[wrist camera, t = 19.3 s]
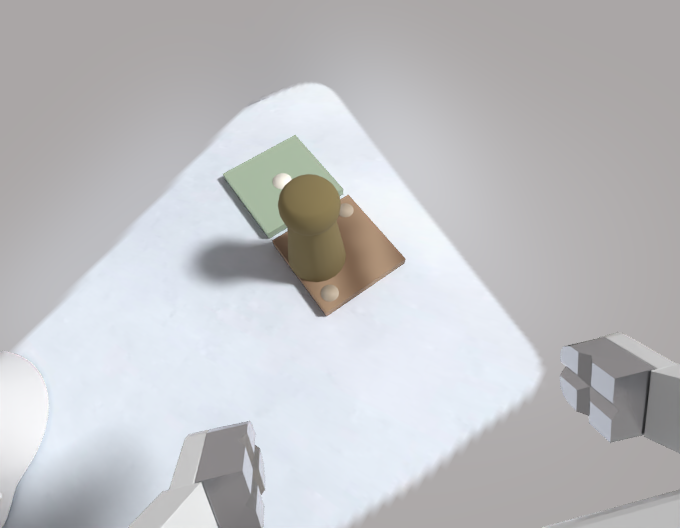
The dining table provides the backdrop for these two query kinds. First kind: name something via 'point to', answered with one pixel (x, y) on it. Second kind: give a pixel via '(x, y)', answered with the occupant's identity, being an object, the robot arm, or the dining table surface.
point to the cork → (312, 227)
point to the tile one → (273, 180)
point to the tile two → (351, 259)
